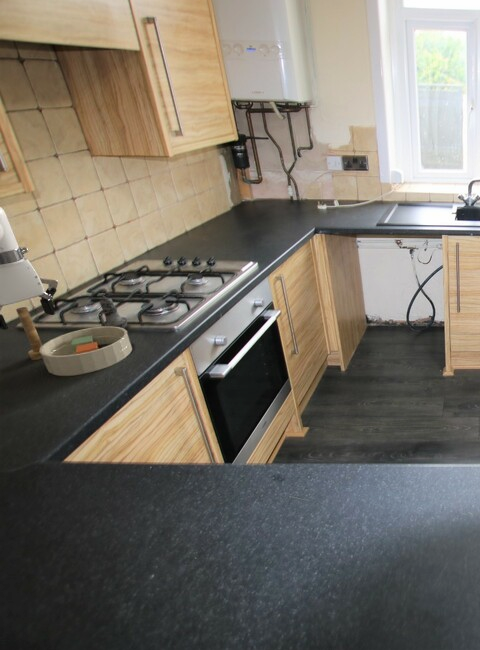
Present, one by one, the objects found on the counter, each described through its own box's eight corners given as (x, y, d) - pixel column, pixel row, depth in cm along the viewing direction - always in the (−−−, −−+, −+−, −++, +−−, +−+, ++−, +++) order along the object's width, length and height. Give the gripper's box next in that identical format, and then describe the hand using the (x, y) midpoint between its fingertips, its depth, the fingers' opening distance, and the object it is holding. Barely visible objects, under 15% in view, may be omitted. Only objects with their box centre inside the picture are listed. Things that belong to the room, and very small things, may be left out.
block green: (76, 358, 123) (71, 344, 122) (77, 352, 126) (72, 339, 124) (96, 354, 126) (91, 340, 124) (96, 348, 128) (91, 335, 127)
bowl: (45, 385, 113) (36, 363, 110) (50, 357, 125) (42, 336, 123) (134, 364, 123) (128, 344, 120) (131, 340, 135) (125, 321, 133)
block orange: (81, 365, 120) (75, 352, 118) (81, 359, 123) (76, 346, 121) (101, 361, 122) (96, 347, 121) (101, 355, 125) (96, 341, 123)
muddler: (30, 362, 122) (9, 313, 117) (31, 356, 125) (11, 307, 120) (51, 357, 125) (31, 309, 119) (52, 351, 127) (33, 304, 122)
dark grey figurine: (107, 339, 135) (90, 301, 130) (106, 332, 139) (89, 295, 134) (132, 333, 138) (117, 296, 133) (130, 325, 142) (115, 289, 137)
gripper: (35, 246, 123) (58, 306, 130) (-58, 265, 108) (-26, 331, 115) (52, 250, 120) (75, 311, 127) (-40, 269, 105) (-9, 337, 112)
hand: (27, 321), depth 121 cm, fingers open, 9 cm apart
